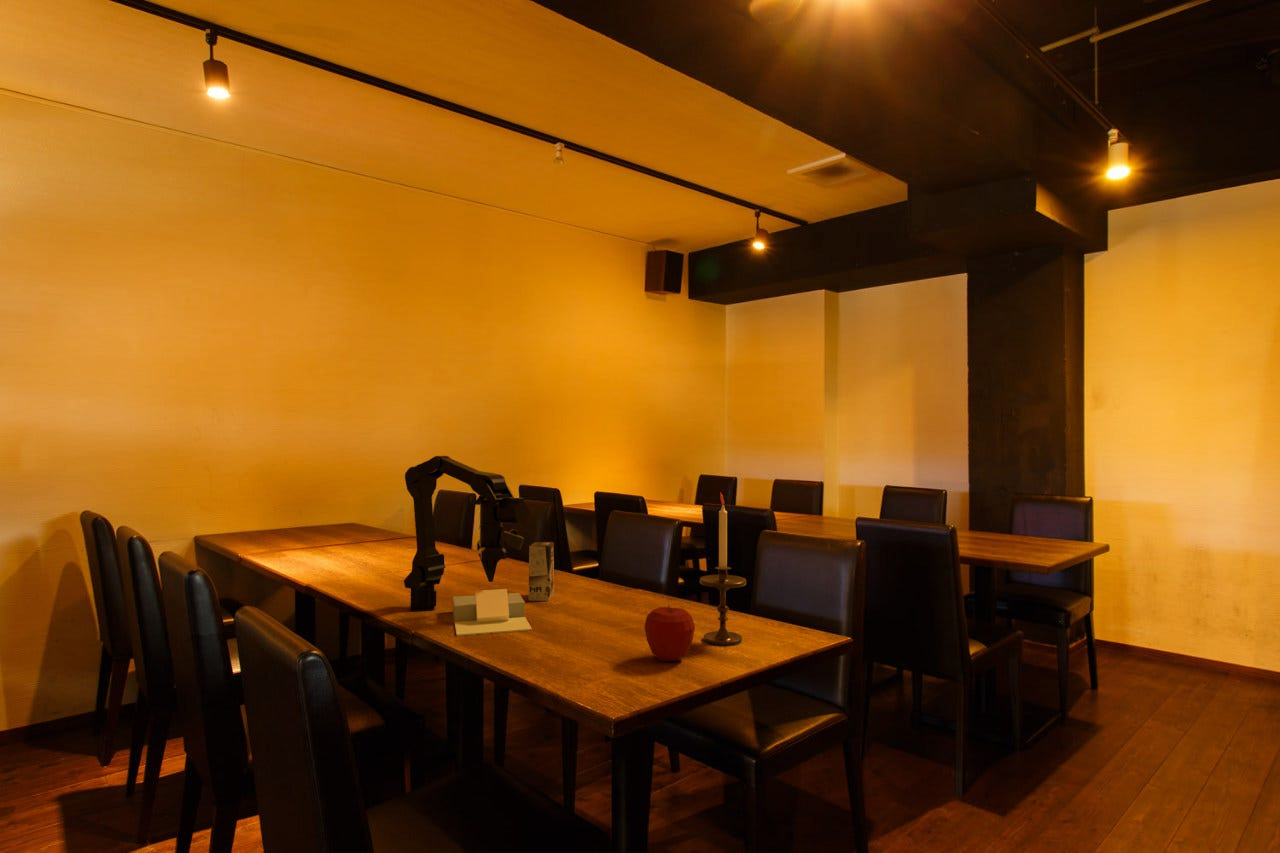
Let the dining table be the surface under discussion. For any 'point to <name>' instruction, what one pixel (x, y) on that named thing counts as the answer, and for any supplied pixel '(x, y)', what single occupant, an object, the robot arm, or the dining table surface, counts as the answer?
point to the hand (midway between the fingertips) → (490, 581)
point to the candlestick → (722, 587)
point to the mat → (492, 626)
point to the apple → (669, 632)
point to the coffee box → (541, 571)
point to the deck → (467, 607)
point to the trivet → (492, 605)
